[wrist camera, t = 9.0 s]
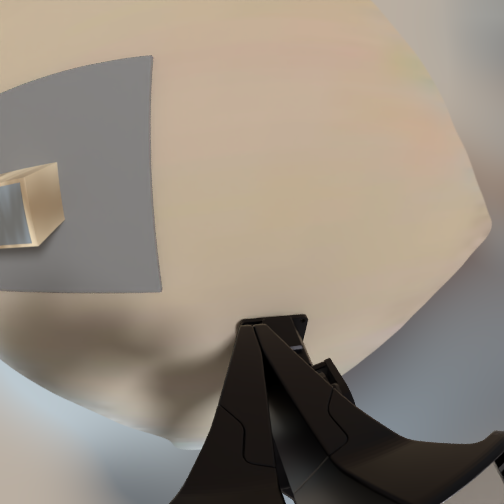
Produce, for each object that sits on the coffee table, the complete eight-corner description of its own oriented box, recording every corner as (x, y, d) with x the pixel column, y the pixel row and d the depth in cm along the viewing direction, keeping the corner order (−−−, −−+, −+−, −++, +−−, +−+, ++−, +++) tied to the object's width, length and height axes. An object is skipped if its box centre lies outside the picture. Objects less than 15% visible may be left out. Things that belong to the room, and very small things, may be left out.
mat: (162, 288, 23) (161, 292, 22) (-8, 287, 19) (-11, 290, 18) (153, 57, 14) (151, 55, 14) (-41, 115, 11) (-45, 116, 10)
